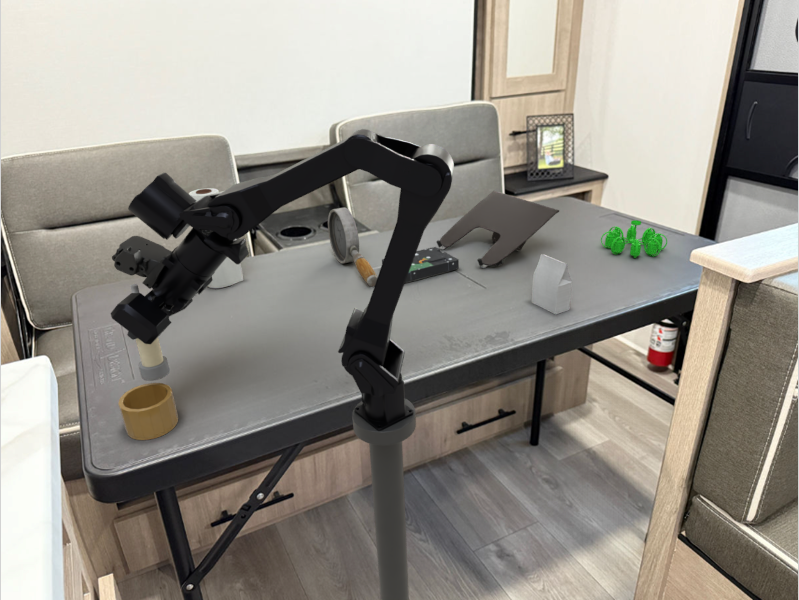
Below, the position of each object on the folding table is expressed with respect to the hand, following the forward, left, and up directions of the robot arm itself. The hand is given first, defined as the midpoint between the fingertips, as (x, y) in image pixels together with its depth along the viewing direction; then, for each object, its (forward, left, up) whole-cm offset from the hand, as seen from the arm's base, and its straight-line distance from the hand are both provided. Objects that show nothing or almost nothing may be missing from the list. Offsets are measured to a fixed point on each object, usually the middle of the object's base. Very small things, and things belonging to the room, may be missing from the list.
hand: (136, 331), depth 87 cm
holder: (-4, +2, -13) cm, 14 cm away
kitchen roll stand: (-1, -1, -7) cm, 7 cm away
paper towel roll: (+39, -27, -14) cm, 50 cm away
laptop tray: (+13, -86, -14) cm, 88 cm away
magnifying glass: (+26, -54, -14) cm, 62 cm away
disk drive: (+15, -65, -14) cm, 68 cm away
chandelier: (-10, -111, -14) cm, 113 cm away
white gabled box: (-17, -72, -14) cm, 75 cm away
